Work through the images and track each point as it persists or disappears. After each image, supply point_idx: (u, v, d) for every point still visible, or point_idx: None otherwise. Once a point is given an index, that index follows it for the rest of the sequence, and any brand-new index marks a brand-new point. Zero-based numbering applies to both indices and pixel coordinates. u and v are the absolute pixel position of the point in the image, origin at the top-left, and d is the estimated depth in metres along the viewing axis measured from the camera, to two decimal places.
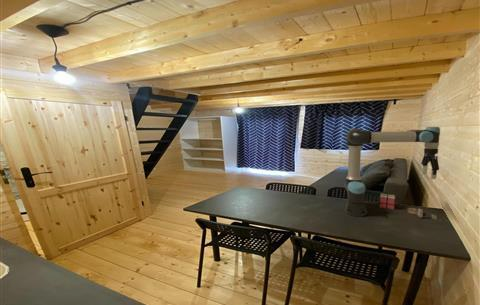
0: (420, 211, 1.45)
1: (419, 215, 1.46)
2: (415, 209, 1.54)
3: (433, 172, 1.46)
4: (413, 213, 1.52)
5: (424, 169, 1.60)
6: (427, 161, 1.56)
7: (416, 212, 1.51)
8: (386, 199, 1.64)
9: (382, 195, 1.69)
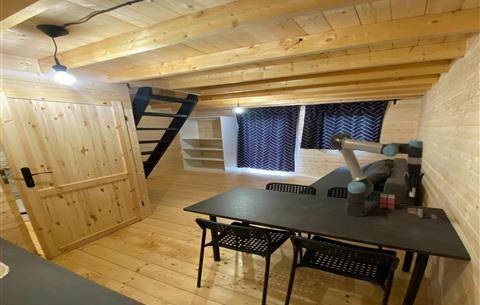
0: (420, 211, 1.45)
1: (419, 215, 1.46)
2: (415, 209, 1.54)
3: None
4: (413, 213, 1.52)
5: None
6: (414, 179, 1.43)
7: (416, 212, 1.51)
8: (386, 199, 1.64)
9: (382, 195, 1.69)
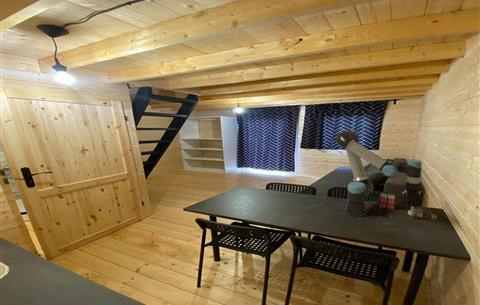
0: (420, 211, 1.45)
1: (419, 215, 1.46)
2: (415, 209, 1.54)
3: None
4: (413, 213, 1.52)
5: None
6: (413, 198, 1.45)
7: (416, 212, 1.51)
8: (386, 199, 1.64)
9: (382, 195, 1.69)
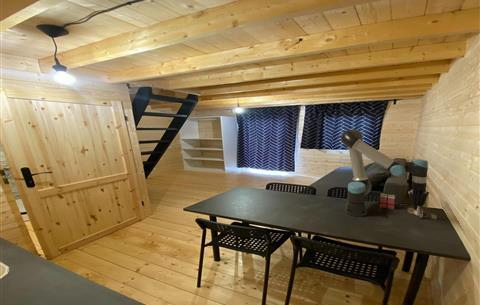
0: (420, 211, 1.45)
1: (419, 215, 1.46)
2: None
3: None
4: (413, 213, 1.51)
5: None
6: (419, 198, 1.45)
7: None
8: (386, 199, 1.64)
9: (382, 195, 1.69)
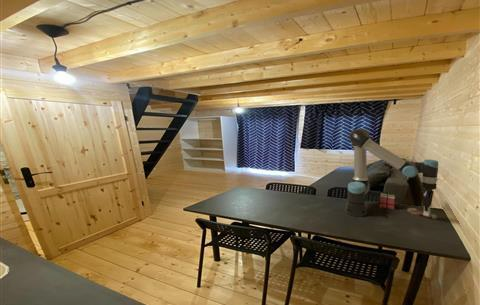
0: None
1: None
2: (415, 209, 1.54)
3: (424, 208, 1.44)
4: (418, 214, 1.50)
5: None
6: None
7: (420, 212, 1.50)
8: (386, 199, 1.64)
9: (382, 195, 1.69)
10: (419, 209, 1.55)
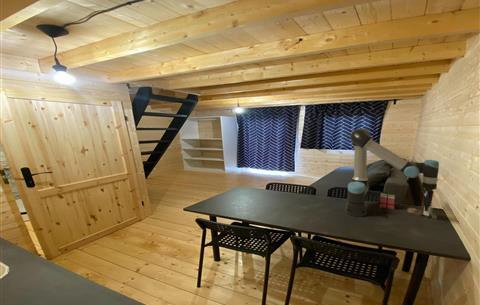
0: (432, 209, 1.48)
1: (431, 213, 1.48)
2: (415, 209, 1.54)
3: (424, 208, 1.45)
4: (422, 214, 1.50)
5: None
6: None
7: (421, 211, 1.51)
8: (386, 199, 1.64)
9: (382, 195, 1.69)
10: (415, 208, 1.57)
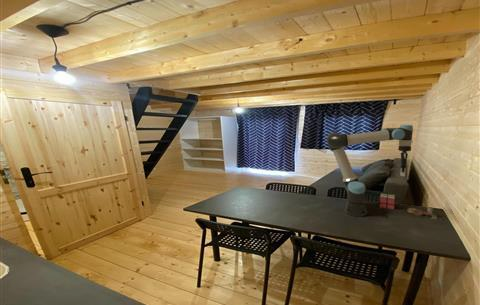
0: (432, 209, 1.48)
1: (431, 213, 1.48)
2: (415, 209, 1.54)
3: (401, 170, 1.59)
4: (422, 214, 1.50)
5: None
6: None
7: (421, 211, 1.51)
8: (386, 199, 1.64)
9: (382, 195, 1.69)
10: (415, 208, 1.57)
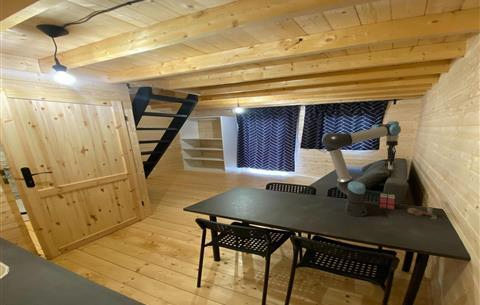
0: (432, 209, 1.48)
1: (431, 213, 1.48)
2: (415, 209, 1.54)
3: (390, 163, 1.69)
4: (422, 214, 1.50)
5: None
6: None
7: (421, 211, 1.51)
8: (386, 199, 1.64)
9: (382, 195, 1.69)
10: (415, 208, 1.57)
